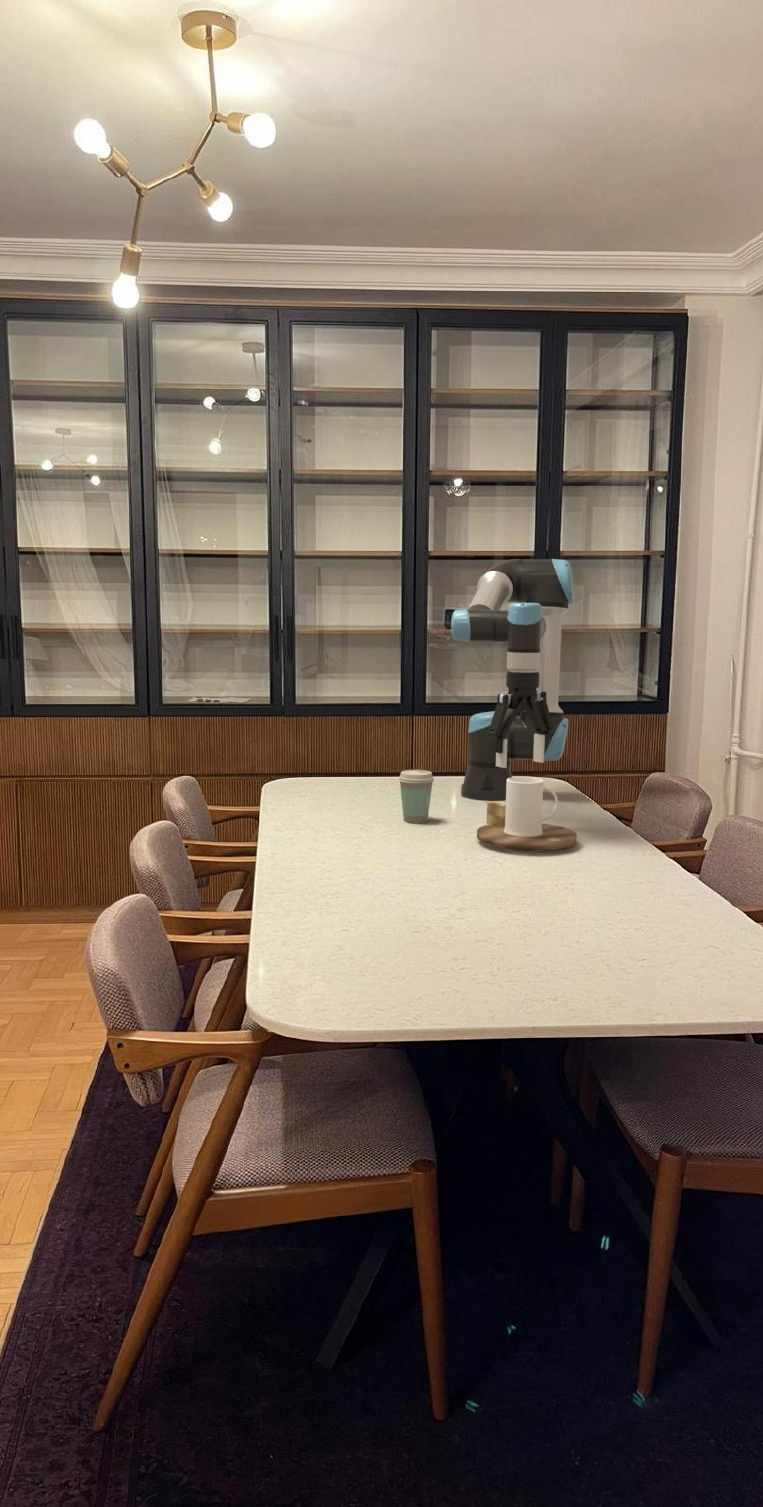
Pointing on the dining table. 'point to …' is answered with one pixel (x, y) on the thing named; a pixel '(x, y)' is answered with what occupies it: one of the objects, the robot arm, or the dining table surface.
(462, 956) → the dining table surface
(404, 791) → the coffee cup
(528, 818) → the mug
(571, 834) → the turntable
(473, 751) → the robot arm
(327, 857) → the dining table surface
